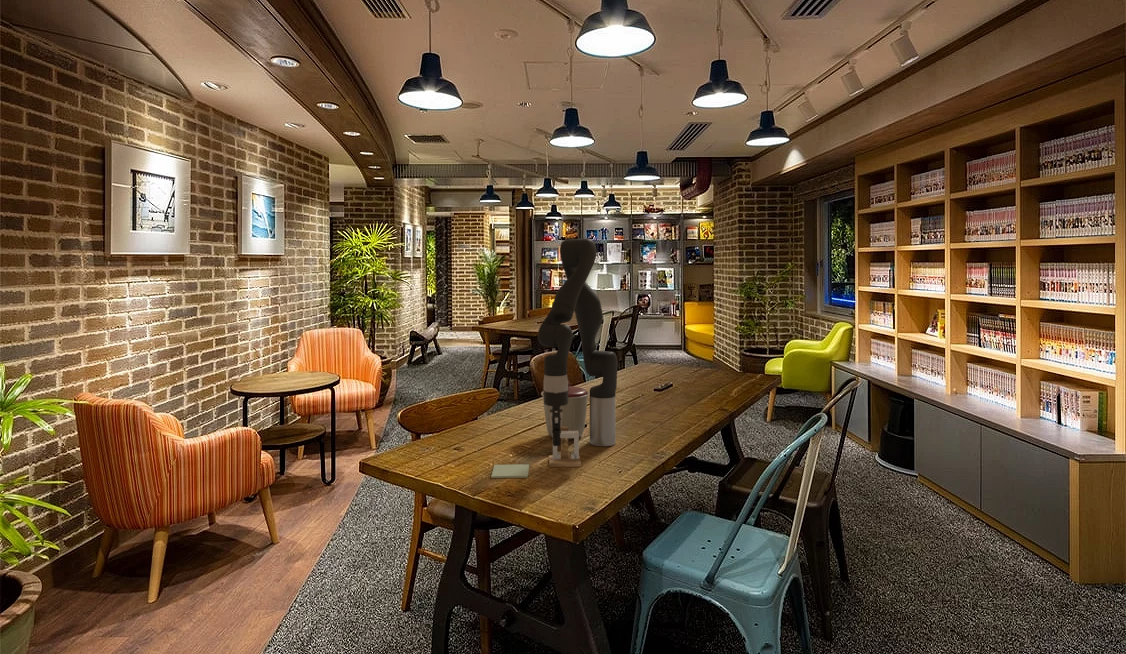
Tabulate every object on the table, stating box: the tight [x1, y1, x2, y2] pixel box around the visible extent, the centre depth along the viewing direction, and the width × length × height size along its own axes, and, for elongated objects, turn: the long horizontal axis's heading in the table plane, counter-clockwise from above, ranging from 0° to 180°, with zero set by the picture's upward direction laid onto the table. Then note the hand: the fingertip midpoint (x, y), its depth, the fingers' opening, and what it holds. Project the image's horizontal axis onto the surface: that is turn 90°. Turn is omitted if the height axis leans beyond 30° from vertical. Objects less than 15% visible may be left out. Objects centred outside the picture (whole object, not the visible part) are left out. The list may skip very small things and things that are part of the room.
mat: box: [490, 463, 530, 479], centre depth 198 cm, size 11×11×1 cm
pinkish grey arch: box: [552, 431, 580, 459], centre depth 198 cm, size 3×8×8 cm, turn 91°
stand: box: [548, 427, 582, 468], centre depth 202 cm, size 19×10×11 cm, turn 1°
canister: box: [540, 380, 590, 440], centre depth 237 cm, size 18×18×21 cm
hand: (556, 443), depth 197 cm, fingers closed on pinkish grey arch, 3 cm apart
